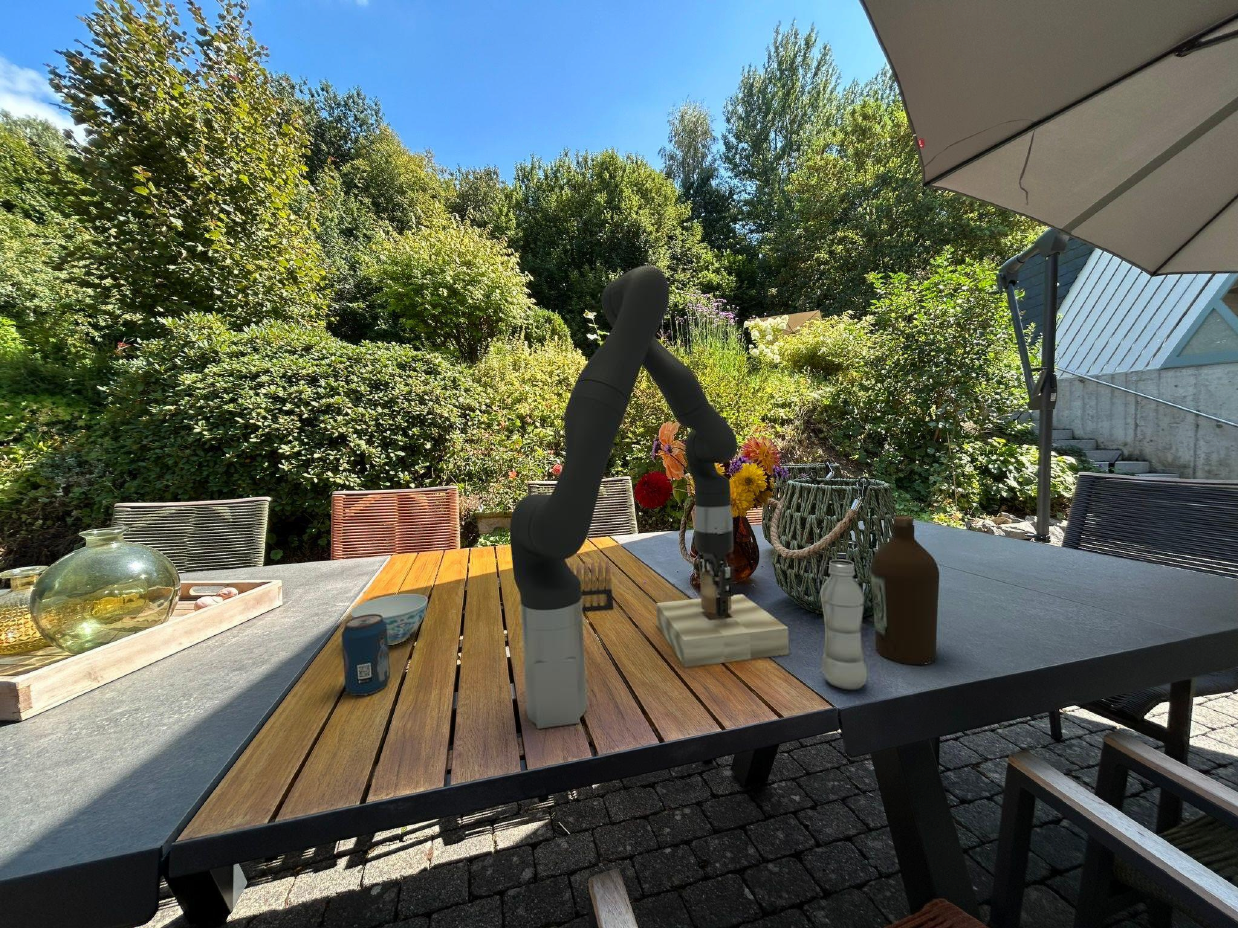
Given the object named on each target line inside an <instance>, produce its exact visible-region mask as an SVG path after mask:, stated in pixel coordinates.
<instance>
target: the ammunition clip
mask: <svg viewBox="0 0 1238 928" xmlns="http://www.w3.org/2000/svg"><path fill="white" fill-rule="evenodd" d="M583 565H584V566H583V575H582V567H581V564H580V562H577V564H576V573H575V570H574V565H573V563H572V562H570V563H569V568H570V569H571V570H572V572H573V573H574V574H575V575H576V576H577V577H578V578H579V580H580V582H581V592H582V613H586V612H587V613H589V612H601V611H612V610H614V600H613V599H614V598H613V585H612V583H613V582H612V574H611V567H610V563H609V560H606V562H605V564H604V565H605V566H603V563H602V561H601V560H599V561H598V566H597V568H598V569H596V564H595V562H594V561H592V562H591V566H590V568H589V565H588V562H587V561H585V562H584V564H583ZM603 567H605V568H603ZM589 569H590V570H589ZM604 570H605V571H604ZM589 571H590V573H589Z"/></svg>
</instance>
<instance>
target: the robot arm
mask: <svg viewBox="0 0 1238 928" xmlns="http://www.w3.org/2000/svg"><path fill="white" fill-rule="evenodd" d="M669 287H670V286H669V282H668V280H667V278H666V275H665V274H664V273H663V271H661V270H660V269H659V268H657V267H655V266H652V265H641V266H639V267H636V268H632V269H631V270H629V271H627V272H626V273H624V274H622V275H621V276H619V277H617V278H615V279H614V280H612V281H611V282H609V283H608V284H607V285H606V286H605V287H604V289H603V291H602V292H601V293H602V295H601V298H600V299H601V301H600V302H601V307H602V310H603V313H604V316H605V317H606V320H608V322H609V324H610V326H612V329H611V331H610V332H609V334H608V335H607V336H606V338H605V340H604V341H603V342H602V343H601V344H600V346H598V348H597V350H596V351H595V352H594V353H593V355H592V356H591V357H590V359H589V360H588V361H587V363H586V364H585V366H584V367H583V368H582V370H581V372H580V373H579V375H578V377H577V379H576V381H575V384H574V385H573V389H572V391H571V393H570V396H569V398H568V401H567V404H566V407H565V411H564V418H563V420H564V421H563V422H564V423H563V425H564V427H563V428H564V440H565V441H564V442H565V455H564V456H565V457H564V461H563V464H562V468H561V471H560V473H559V476H558V479H557V481H556V483H555V485H554V488H553V490H552V492H551V493H550V494H546V493H535V494H533V493H532V494H529V495H527V496H525V497H524V498H522V499H521V500H519V502H517V504H516V505H515V507H514V509H513V510H512V514H511V517H510V523H509V540H510V543H509V544H510V551H511V562H512V563H511V564H512V572H513V578H514V583H515V585H516V587H517V589H518V592H519V597H520V610H521V611H520V612H521V613H520V614H521V631H522V634H521V635H522V649H523V650H522V651H523V652H522V653H523V654H522V655H523V669H524V685H525V688H524V689H525V703H526V705H525V706H526V715H527V718H528V719H529V720H530V721H531V722H532V723H534V724H535V725H536V728H537V729H539V730H540V729H545V728H547V729H548V728H551V727H553V728H554V727H559V726H561V727H562V726H567V725H568V726H569V725H574V724H579V723H581V721H580V719H581V717H582V716H584V714H585V713H586V711H587V709H588V700H587V699H588V697H587V680H586V679H587V678H586V661H585V659H586V658H585V639H584V638H585V637H584V622H583V620H584V618H583V616H584V615H583V613H584V612H582V592H581V582H580V580H579V578H578V577H577V576H576V573H575V572H574V573H573V572H572V570H571V569H570V568H569V567H570V565H569V564H568V563H567V560H568V559H570V558H572V557H573V556H575V555H576V554H578V552H579V551H580V550H581V548H582V547H583V546H584V544H585V542H586V540H587V537H588V535H589V532H590V529H591V527H592V526H591V525H592V520H593V519H594V518H593V517H594V513H595V510H596V507H597V501H598V497H599V493H600V489H601V484H602V481H603V477H604V474H605V470H606V469H607V466H608V462H609V459H610V456H611V453H612V450H613V448H614V445H615V441H616V438H617V436H618V433H619V430H620V428H621V425H622V423H623V421H624V417H625V415H626V412H627V409H628V407H629V403H630V400H631V397H632V394H633V391H634V387H635V385H636V382H637V379H638V377H639V375H640V372H641V369H642V367H643V368H644V369H645V371H646V372H647V374H649V376H650V377H651V379H652V380H653V382H654V383H655V384H656V386H657V389H659V391H660V392H661V394H662V396H663V398H664V400H665V401H666V404H667V405H668V407H669V409H670V411H671V413H672V415H673V416H674V418H675V420H676V422H677V423H678V424H679V425H680V426H682V427H683V428H684V427H685V428H689V429H691V430H692V431H691V432H690V433H689V434H688V435H687V438H686V440H685V441H686V442H685V447H684V449H685V457H686V458H685V459H686V461H687V464H688V469H689V472H690V476H691V478H692V481H693V484H694V517H693V518H694V519H693V521H694V544H695V545H694V548H695V550H696V552H698V553H697V561H698V562H697V564H698V573H699V576H700V572H702V571H703V572H708V573H709V574H710V577H711V579H712V580H711V581H712V585H713V586H714V587H715V594H716V614H717V615H718V616H719V617H721V616H727V615H728V597H732V596H733V595H734V585H735V568H734V566H729V565H728V561H727V557H726V555H727V554H729V553H731V552H733V551H734V528H733V527H734V523H733V512H732V505H731V503H732V502H731V498H732V497H731V482H730V479H729V478H728V476H725V475H723V474H720V473H719V472H718V471H717V467H716V465H715V464H724V463H728V462H730V461H731V460H733V459H734V458H735V456H736V454H737V452H738V451H737V450H738V440H737V437H736V435H735V433H734V431H733V429H732V427H731V426H730V425H729V423H728V422H727V421H726V420H725V419H724V418H723V416H722V415H720V413H719V412H718V411H717V410H716V409H715V408H714V407H713V406H712V405H711V403H710V402H709V400H708V397H707V396H706V393H705V391H704V390H703V388H702V386H701V385H700V382H699V380H698V379H697V377H696V376H695V374H694V373H693V372H692V371H691V369H690V368H689V367H688V366H687V365H686V364H684V363H683V362H682V361H681V360H680V359H679V358H678V357H676V356H675V355H674V354H673V353H671V352H670V351H669V350H668V349H667V348H666V347H665V346H664V345H663V344H662V343H661V342H660V340H658V339H657V337H656V333H657V331H658V330H659V327H660V325H661V323H662V321H663V320H664V317H665V315H666V312H667V310H668V306H669V303H670V288H669ZM715 577H719V581H716V580H715ZM728 586H729V588H728ZM724 588H725V591H724Z"/></svg>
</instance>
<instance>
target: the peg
mask: <svg viewBox="0 0 1238 928" xmlns="http://www.w3.org/2000/svg"><path fill="white" fill-rule="evenodd" d="M711 580H712V579H711V577H710V574H709V573H708V572H703V571H702V572H700V575H699V581H700V583H699V584H700V585H699V586H700V599H701V608H702V609H703V610H704V611H707V612H708V620H716V619H725V616H721V617H719V616H718V615H717V614H716V594H715V587H714V586H713V585H712V581H711ZM715 580H716V581H719V577H715ZM728 588H729V586H728ZM724 591H725V588H724ZM731 609H732V606H731V597H728V611H730V610H731Z"/></svg>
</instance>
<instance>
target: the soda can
mask: <svg viewBox="0 0 1238 928" xmlns="http://www.w3.org/2000/svg"><path fill="white" fill-rule="evenodd" d="M341 647H342V659H343V661H342V662H343V675H344V687H345V689H346V690H347V691H348V692H349V693H350V695H352V694H355V695H365V694H370V695H373V694H375V692H376V691H378V692H380V691H382V690H383V689H384V688H386V686H387V684H388V682H389V680H390V677H391V669H390V668H391V667H390V665H391V664H390V653H389V646H388V636H387V625H386V623H385V622H384V621H383V619H382V616H381V615H379V614H368V615H362V616H358V617H355V618H350V619H348V620H346V621H345V623H344V628H343V630H342V633H341ZM385 685H386V686H385ZM382 688H383V689H382ZM379 690H380V691H379ZM372 693H373V694H372ZM376 693H377V692H376ZM365 696H366V695H365Z"/></svg>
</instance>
